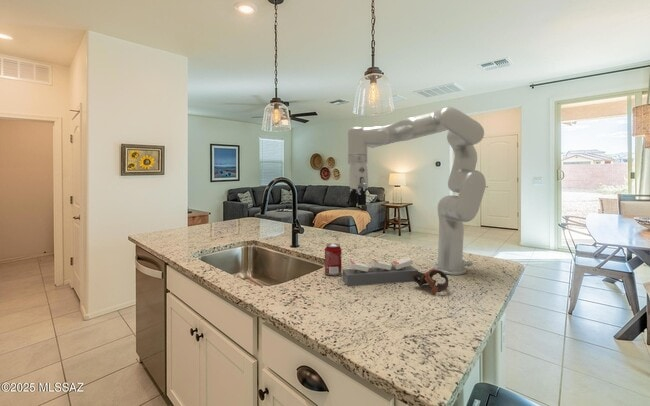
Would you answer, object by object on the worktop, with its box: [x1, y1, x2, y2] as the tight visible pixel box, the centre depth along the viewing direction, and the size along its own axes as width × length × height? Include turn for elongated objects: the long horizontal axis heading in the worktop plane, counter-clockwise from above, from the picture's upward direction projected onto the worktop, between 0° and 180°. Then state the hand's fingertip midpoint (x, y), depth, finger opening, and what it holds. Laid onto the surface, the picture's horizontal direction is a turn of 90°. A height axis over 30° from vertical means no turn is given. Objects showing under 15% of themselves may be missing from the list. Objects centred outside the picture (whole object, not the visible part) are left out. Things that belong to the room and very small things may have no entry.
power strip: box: [342, 265, 419, 287], centre depth 116 cm, size 35×7×5 cm, turn 101°
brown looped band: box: [412, 268, 449, 296], centre depth 106 cm, size 12×9×8 cm
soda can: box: [324, 242, 342, 277], centre depth 123 cm, size 7×7×12 cm
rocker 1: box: [347, 260, 370, 272], centre depth 113 cm, size 7×4×2 cm, turn 102°
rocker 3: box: [390, 256, 414, 270], centre depth 117 cm, size 7×4×2 cm, turn 100°
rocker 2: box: [369, 258, 392, 270], centre depth 115 cm, size 7×4×2 cm, turn 102°
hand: (357, 203), depth 118 cm, fingers open, 9 cm apart
